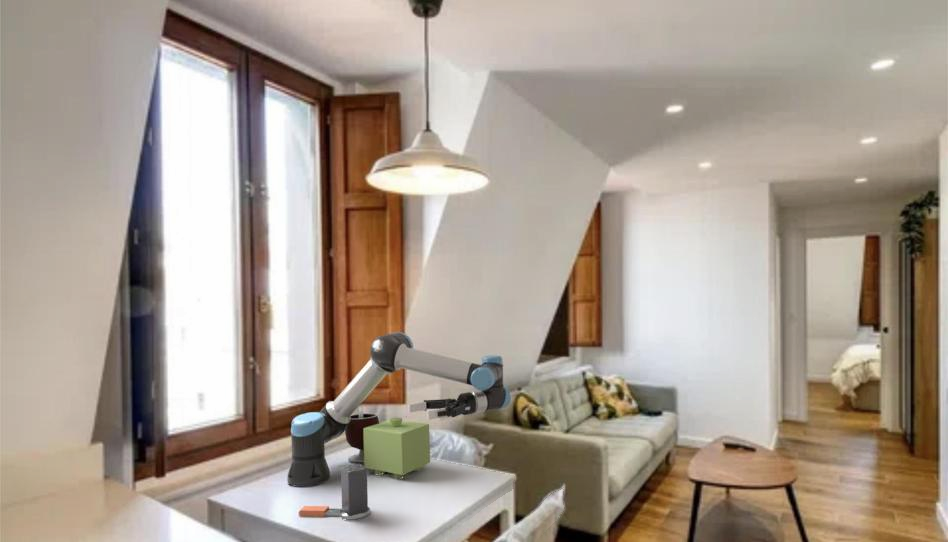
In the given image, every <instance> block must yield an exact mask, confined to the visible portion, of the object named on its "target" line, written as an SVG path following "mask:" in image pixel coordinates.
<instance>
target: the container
mask: <svg viewBox="0 0 948 542" xmlns="http://www.w3.org/2000/svg"><path fill="white" fill-rule="evenodd" d="M363 431H364V462H363V464H364V465H363V466H364V467H365V468H367V469H371V470H375V471H374V473H375V474H382V473H384V474H385V473H391V474H393V479H394V478H402V477H404V478H405V475H406V474H409V473H410V472H418V471H417V470H419V471H421V470H422V469H421V467H423V466H426V465H429V464H430V463H431V442H430V439H431V438H430V423H424V422H416V421H408V420H403V418H402V417H392V418H390V419H388V420H385V421H382V422H379V424H375V425H372V426H369V427H366V428H364V429H363ZM420 469H421V470H420ZM375 474H374V475H375ZM382 475H383V474H382ZM402 479H403V478H402Z"/></svg>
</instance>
